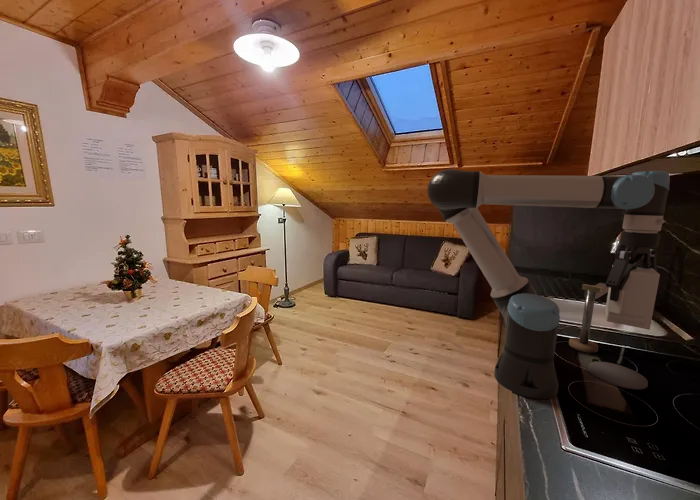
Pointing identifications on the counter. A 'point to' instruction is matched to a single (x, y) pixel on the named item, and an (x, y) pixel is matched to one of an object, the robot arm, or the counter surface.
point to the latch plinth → (583, 345)
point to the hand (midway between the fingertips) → (627, 309)
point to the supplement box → (636, 299)
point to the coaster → (618, 375)
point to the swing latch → (590, 308)
